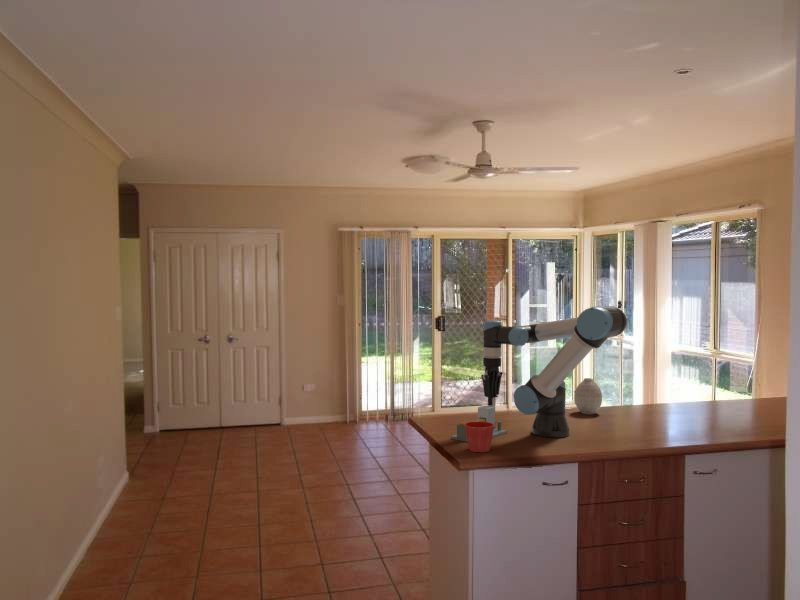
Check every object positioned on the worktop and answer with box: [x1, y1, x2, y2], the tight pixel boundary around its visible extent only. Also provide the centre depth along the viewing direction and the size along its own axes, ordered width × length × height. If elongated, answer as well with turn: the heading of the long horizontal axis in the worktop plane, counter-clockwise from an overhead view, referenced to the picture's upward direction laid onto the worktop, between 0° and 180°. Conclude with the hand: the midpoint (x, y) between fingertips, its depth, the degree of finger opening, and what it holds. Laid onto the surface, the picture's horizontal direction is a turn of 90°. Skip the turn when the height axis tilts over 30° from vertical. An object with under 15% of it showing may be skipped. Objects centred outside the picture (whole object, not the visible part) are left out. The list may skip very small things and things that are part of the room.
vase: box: [573, 377, 603, 416], centre depth 305 cm, size 13×13×17 cm
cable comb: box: [450, 418, 508, 443], centre depth 260 cm, size 12×23×7 cm, turn 139°
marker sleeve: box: [477, 405, 496, 428], centre depth 265 cm, size 5×5×8 cm
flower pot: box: [465, 421, 494, 453], centre depth 238 cm, size 11×11×10 cm
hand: (491, 412), depth 269 cm, fingers closed
